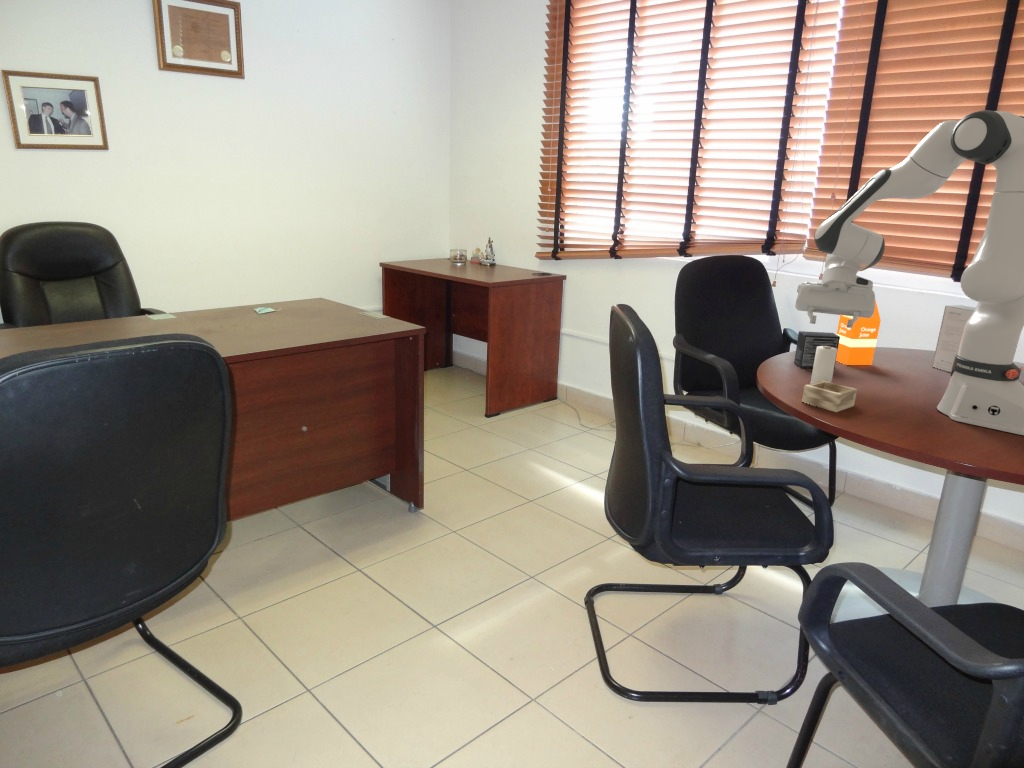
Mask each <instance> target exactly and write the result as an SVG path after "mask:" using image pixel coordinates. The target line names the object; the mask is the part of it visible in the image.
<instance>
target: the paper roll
mask: <svg viewBox="0 0 1024 768" xmlns="http://www.w3.org/2000/svg"><path fill="white" fill-rule="evenodd" d="M836 355H837V349H836V348H833V347H830V346H817V349H816V354H815V360H814V366H813V369H812V372H811V377H810V382H809V384H811V383H815V382H818V381H821V380H824V381H828V382H833V381H832V380H833V375H834V370H835V369H834V365H835V366H836V364H835V360H836Z"/></svg>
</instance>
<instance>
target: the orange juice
mask: <svg viewBox="0 0 1024 768" xmlns="http://www.w3.org/2000/svg"><path fill="white" fill-rule="evenodd" d="M852 318H853V316H845V315H839V320H838V325H837V329H836V330H837V331H836V333H835V334H836V335H838V336H840V340H839V346H838V352H837V358H836V361H838V362H837V363H839V362H840V363H839V364H841V363H843V364H842V365H844V364H846V365H873V360H874V355H875V349H876V346H877V343H878V342H877V341H878V336H879V330H880V325H881V316H880V312H879V308H878V304H877V301H876V300H875V310H874V314H873V316H872V317H870V318H863V317H859V318H858V320H857V321H856V322H855V323H854V324H853V328H847V322H848V319H850V320H851V319H852ZM846 365H845V366H846Z"/></svg>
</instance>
